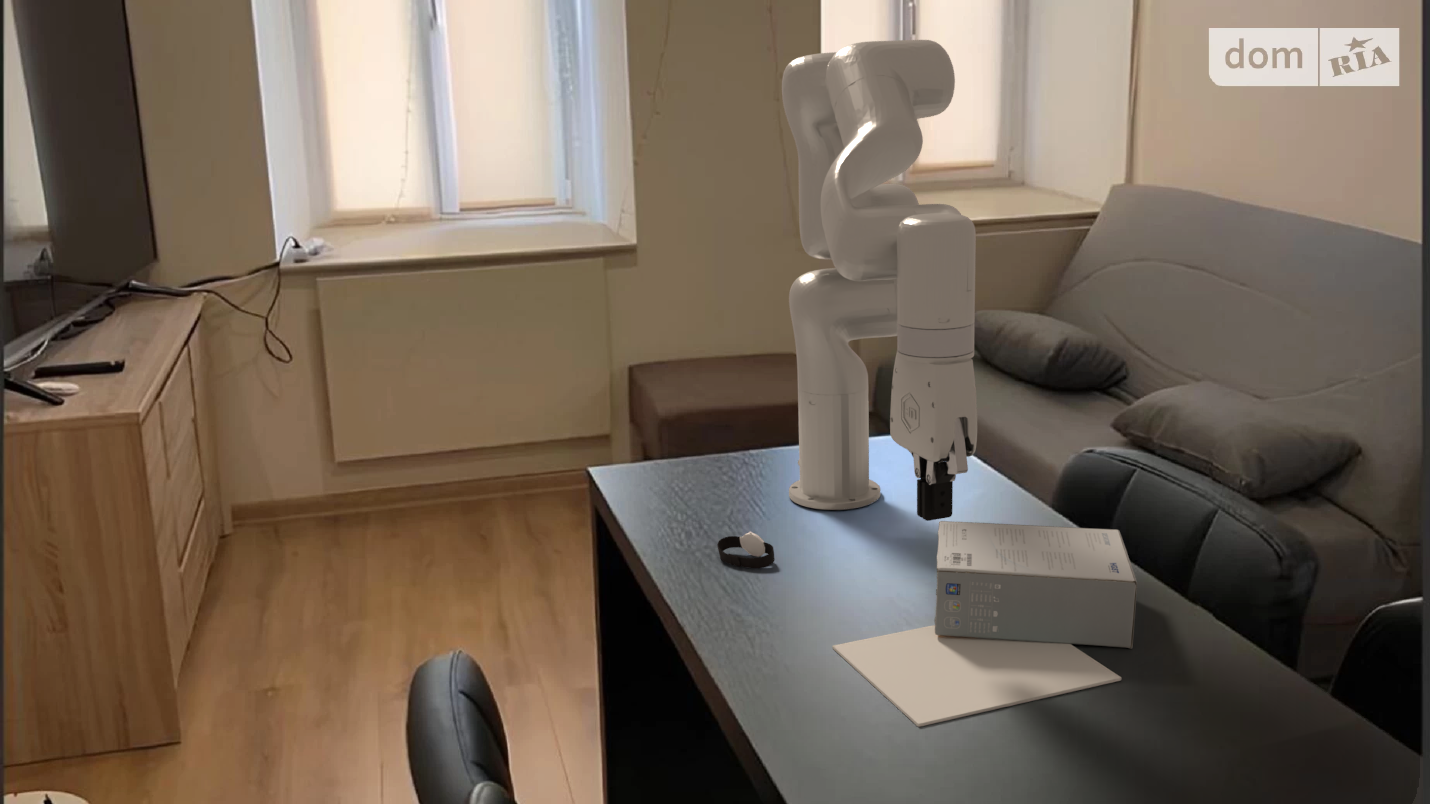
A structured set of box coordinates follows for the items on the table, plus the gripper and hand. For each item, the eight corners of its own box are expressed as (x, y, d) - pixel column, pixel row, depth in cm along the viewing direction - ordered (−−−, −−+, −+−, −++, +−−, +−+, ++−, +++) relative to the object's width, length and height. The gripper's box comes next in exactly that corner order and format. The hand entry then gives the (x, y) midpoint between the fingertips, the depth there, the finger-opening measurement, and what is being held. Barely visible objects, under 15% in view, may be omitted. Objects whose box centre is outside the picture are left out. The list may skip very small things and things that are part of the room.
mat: (832, 648, 135) (832, 645, 135) (1016, 611, 142) (1016, 608, 142) (918, 726, 118) (918, 723, 118) (1121, 680, 126) (1121, 677, 126)
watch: (783, 562, 159) (782, 534, 158) (761, 575, 155) (760, 546, 154) (731, 550, 163) (730, 523, 163) (709, 562, 160) (707, 534, 159)
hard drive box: (932, 637, 135) (1133, 650, 132) (934, 568, 133) (1138, 579, 130) (936, 580, 150) (1117, 591, 146) (938, 517, 148) (1122, 526, 144)
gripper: (866, 331, 135) (868, 500, 139) (940, 359, 121) (939, 546, 126) (931, 324, 137) (930, 490, 142) (1010, 350, 124) (1006, 534, 128)
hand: (934, 516), depth 134 cm, fingers closed
